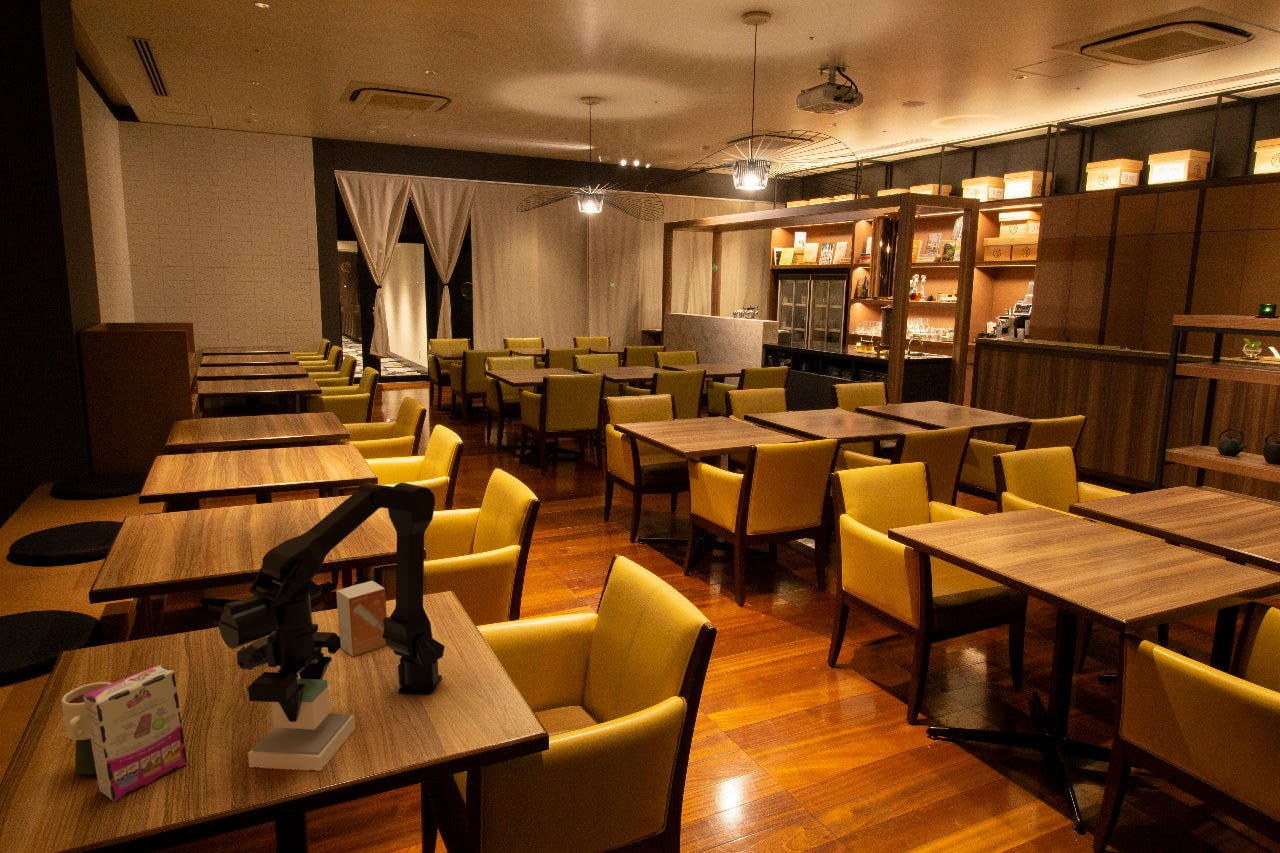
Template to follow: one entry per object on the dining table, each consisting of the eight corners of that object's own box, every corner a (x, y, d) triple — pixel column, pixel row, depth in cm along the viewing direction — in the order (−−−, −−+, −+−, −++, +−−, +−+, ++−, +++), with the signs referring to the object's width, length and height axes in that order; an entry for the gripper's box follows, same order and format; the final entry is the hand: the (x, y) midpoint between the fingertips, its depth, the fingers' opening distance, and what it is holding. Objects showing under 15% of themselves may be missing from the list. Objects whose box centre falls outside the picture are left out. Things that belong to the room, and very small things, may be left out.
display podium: (355, 728, 135) (354, 712, 134) (321, 771, 123) (319, 754, 123) (289, 725, 136) (287, 709, 135) (249, 767, 124) (247, 750, 124)
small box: (352, 657, 160) (348, 598, 158) (339, 647, 165) (335, 589, 162) (389, 645, 166) (385, 587, 163) (376, 635, 170) (371, 579, 168)
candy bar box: (172, 754, 128) (160, 662, 125) (188, 764, 125) (176, 670, 122) (96, 792, 118) (81, 693, 115) (112, 803, 116) (97, 702, 113)
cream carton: (290, 710, 131) (287, 678, 130) (329, 712, 131) (326, 679, 130) (273, 727, 127) (270, 693, 125) (314, 729, 126) (311, 695, 125)
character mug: (105, 786, 120) (94, 709, 117) (55, 790, 119) (42, 713, 116) (140, 745, 130) (130, 674, 128) (94, 749, 129) (84, 677, 127)
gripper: (277, 599, 135) (285, 681, 138) (209, 649, 117) (220, 743, 120) (338, 601, 134) (345, 684, 137) (279, 652, 116) (289, 746, 119)
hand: (301, 712), depth 128 cm, fingers closed on cream carton, 5 cm apart
